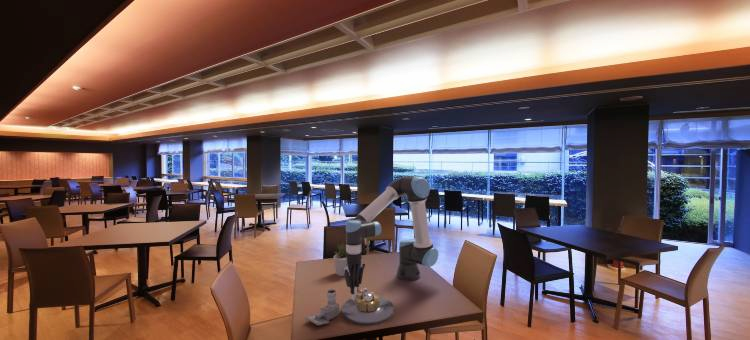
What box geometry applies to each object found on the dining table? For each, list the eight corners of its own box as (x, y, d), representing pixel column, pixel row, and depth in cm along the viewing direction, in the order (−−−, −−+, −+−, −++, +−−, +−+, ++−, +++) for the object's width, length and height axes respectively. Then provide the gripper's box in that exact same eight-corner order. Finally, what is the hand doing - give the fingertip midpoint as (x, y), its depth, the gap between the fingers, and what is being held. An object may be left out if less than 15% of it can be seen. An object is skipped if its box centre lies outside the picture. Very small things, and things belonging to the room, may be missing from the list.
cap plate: (388, 297, 154) (388, 282, 154) (398, 322, 129) (398, 304, 129) (341, 300, 151) (341, 285, 150) (342, 326, 126) (342, 308, 126)
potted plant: (357, 272, 191) (357, 242, 191) (344, 279, 180) (344, 247, 180) (342, 268, 198) (342, 239, 198) (329, 275, 187) (329, 244, 186)
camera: (343, 291, 135) (317, 303, 123) (343, 316, 135) (317, 330, 124) (330, 286, 140) (305, 297, 129) (331, 310, 141) (305, 323, 129)
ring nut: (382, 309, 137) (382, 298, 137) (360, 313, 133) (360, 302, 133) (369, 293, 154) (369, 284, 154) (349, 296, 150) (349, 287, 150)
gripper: (359, 248, 149) (359, 293, 150) (338, 253, 141) (339, 301, 141) (368, 251, 144) (369, 297, 144) (348, 256, 135) (348, 306, 135)
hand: (354, 299), depth 143 cm, fingers closed
